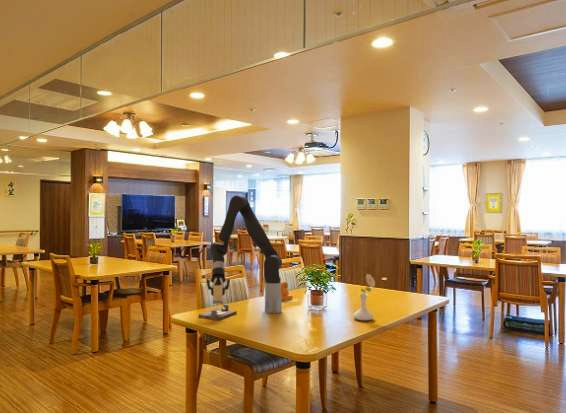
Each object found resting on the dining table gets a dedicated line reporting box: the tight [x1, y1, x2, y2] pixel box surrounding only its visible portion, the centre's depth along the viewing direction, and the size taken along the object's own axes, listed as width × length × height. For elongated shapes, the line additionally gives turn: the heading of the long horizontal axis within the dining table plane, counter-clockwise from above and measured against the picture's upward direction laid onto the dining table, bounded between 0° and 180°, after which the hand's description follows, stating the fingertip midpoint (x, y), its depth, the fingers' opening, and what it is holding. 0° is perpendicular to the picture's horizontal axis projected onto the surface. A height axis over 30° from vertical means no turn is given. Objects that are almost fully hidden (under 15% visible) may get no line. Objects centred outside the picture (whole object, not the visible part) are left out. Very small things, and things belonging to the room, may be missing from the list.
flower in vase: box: [352, 273, 376, 321], centre depth 232 cm, size 13×11×25 cm
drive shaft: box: [220, 303, 230, 311], centre depth 242 cm, size 3×4×3 cm
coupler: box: [212, 284, 223, 305], centre depth 237 cm, size 5×5×10 cm
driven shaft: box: [210, 309, 217, 317], centre depth 230 cm, size 3×4×3 cm
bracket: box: [280, 280, 294, 302], centre depth 283 cm, size 11×7×12 cm, turn 125°
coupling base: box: [198, 308, 237, 321], centre depth 236 cm, size 14×17×2 cm
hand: (217, 294), depth 235 cm, fingers closed on coupler, 5 cm apart
